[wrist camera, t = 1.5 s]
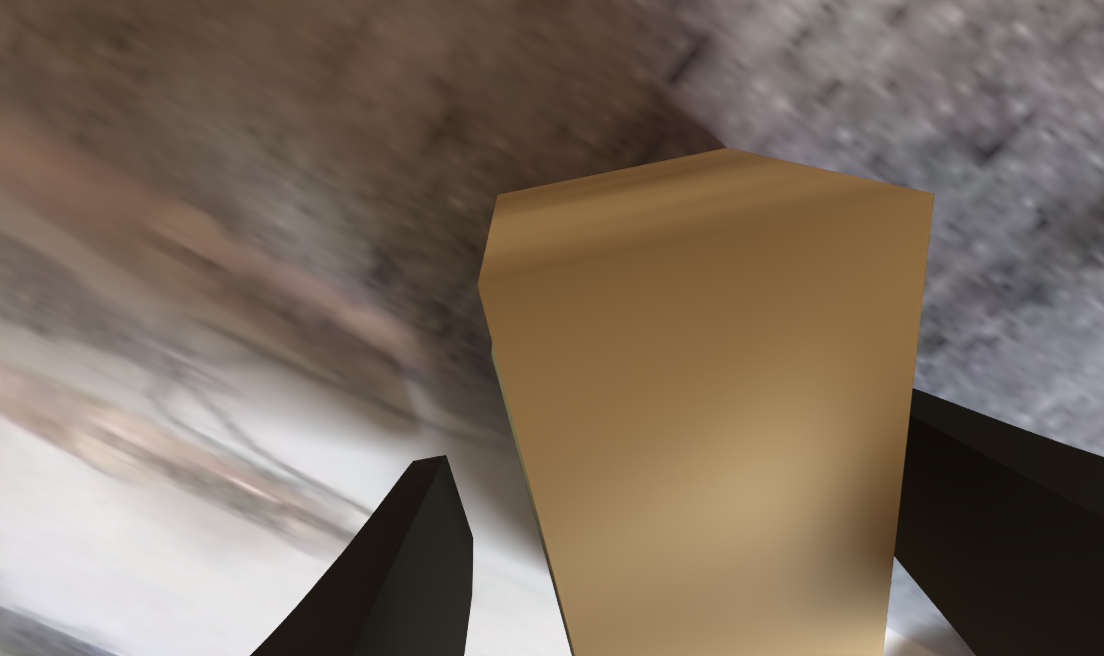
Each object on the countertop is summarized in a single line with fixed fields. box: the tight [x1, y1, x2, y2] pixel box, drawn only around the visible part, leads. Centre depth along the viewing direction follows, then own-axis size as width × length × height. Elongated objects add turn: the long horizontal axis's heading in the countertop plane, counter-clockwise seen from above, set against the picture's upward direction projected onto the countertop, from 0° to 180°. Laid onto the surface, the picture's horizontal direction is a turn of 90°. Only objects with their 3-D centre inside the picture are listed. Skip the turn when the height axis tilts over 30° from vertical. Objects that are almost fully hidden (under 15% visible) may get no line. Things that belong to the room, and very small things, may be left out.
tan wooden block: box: [477, 148, 934, 656], centre depth 9 cm, size 10×4×5 cm, turn 11°
